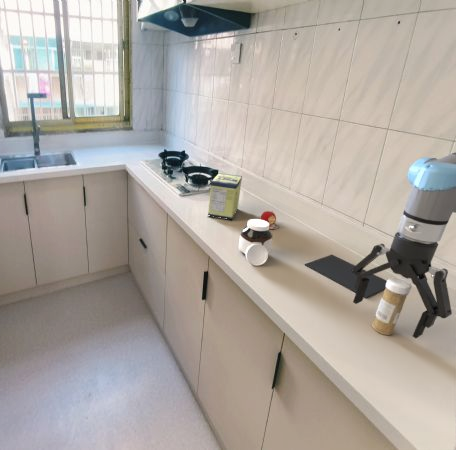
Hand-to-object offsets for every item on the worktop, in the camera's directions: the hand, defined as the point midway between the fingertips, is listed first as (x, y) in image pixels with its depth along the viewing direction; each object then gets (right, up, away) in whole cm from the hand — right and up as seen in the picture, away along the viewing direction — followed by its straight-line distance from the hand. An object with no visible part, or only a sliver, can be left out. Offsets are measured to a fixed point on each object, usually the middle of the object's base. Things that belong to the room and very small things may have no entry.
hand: (385, 317), depth 80 cm
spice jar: (0, -3, +1) cm, 4 cm away
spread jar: (-22, +11, +32) cm, 40 cm away
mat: (+4, +7, +24) cm, 25 cm away
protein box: (-25, +27, +68) cm, 78 cm away
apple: (-9, +21, +57) cm, 61 cm away
